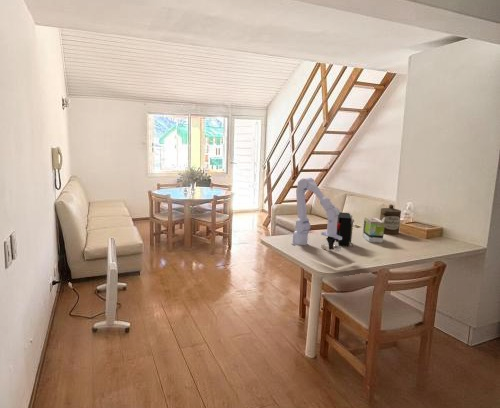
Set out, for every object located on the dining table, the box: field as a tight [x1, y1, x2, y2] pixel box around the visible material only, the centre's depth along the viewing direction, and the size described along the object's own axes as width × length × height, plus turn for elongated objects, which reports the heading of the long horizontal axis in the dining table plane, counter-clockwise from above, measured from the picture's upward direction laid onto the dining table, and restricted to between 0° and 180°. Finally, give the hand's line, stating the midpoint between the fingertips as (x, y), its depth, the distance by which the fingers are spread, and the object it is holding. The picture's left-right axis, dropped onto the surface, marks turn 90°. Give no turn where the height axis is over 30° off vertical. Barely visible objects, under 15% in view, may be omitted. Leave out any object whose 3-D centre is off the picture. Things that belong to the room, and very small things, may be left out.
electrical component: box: [335, 211, 355, 247], centre depth 232 cm, size 18×10×20 cm, turn 168°
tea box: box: [362, 217, 385, 243], centre depth 248 cm, size 15×10×15 cm
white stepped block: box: [324, 244, 332, 252], centre depth 215 cm, size 4×3×3 cm
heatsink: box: [320, 243, 342, 252], centre depth 219 cm, size 11×13×3 cm
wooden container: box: [379, 204, 402, 236], centre depth 270 cm, size 15×15×22 cm
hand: (330, 248), depth 214 cm, fingers closed, pressing on white stepped block
